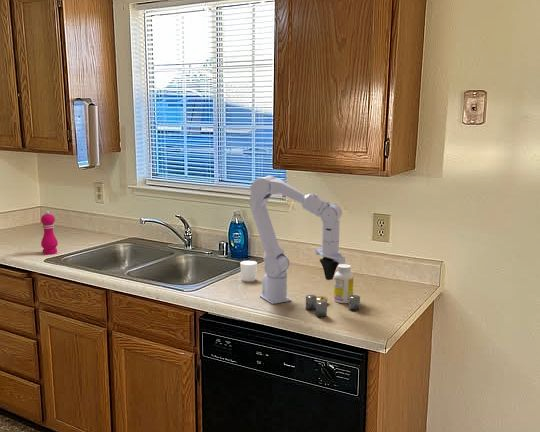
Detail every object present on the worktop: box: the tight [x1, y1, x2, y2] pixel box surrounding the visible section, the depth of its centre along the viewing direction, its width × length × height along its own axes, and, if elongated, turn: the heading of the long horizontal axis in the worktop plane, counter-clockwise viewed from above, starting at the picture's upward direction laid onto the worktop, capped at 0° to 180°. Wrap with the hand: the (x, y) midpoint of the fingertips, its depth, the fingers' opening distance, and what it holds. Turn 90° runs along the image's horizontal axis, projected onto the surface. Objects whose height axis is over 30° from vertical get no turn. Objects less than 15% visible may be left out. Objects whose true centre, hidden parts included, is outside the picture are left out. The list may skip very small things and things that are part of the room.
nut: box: [316, 295, 328, 303], centre depth 193 cm, size 4×4×2 cm
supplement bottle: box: [333, 263, 354, 304], centre depth 194 cm, size 7×7×13 cm
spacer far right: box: [315, 301, 328, 319], centre depth 180 cm, size 4×4×4 cm
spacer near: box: [305, 294, 317, 312], centre depth 186 cm, size 4×4×4 cm
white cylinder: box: [239, 260, 258, 283], centre depth 219 cm, size 7×7×7 cm
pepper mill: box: [40, 210, 59, 256], centre depth 255 cm, size 7×7×20 cm
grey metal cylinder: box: [348, 294, 361, 312], centre depth 187 cm, size 4×4×4 cm
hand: (329, 279), depth 187 cm, fingers closed
